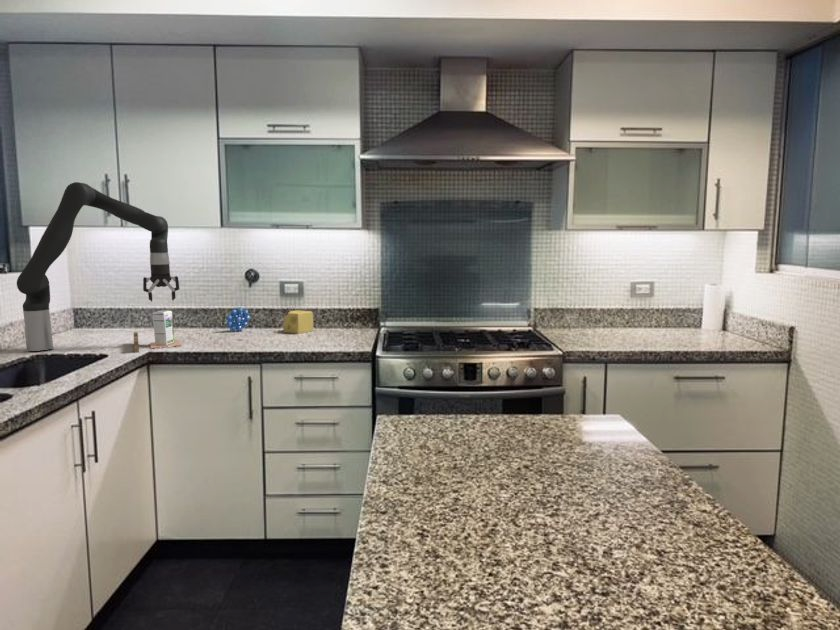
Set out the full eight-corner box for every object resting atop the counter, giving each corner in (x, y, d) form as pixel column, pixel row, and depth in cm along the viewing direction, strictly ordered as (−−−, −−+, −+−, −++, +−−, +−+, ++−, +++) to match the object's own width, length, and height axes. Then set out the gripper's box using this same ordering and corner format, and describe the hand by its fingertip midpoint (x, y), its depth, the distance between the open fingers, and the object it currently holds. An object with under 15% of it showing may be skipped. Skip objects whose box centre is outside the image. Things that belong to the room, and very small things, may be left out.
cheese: (283, 332, 286) (282, 312, 285) (299, 329, 295) (298, 309, 294) (298, 334, 281) (297, 313, 279) (314, 331, 289) (313, 311, 288)
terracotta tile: (150, 349, 248) (150, 347, 248) (150, 344, 259) (149, 342, 259) (181, 346, 254) (181, 345, 254) (179, 341, 264) (179, 340, 264)
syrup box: (166, 345, 253) (164, 312, 251) (154, 345, 254) (152, 311, 252) (174, 342, 258) (172, 310, 256) (162, 342, 259) (160, 310, 257)
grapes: (249, 329, 295) (248, 305, 293) (251, 331, 289) (250, 307, 287) (225, 331, 291) (224, 307, 289) (227, 333, 284) (225, 308, 283)
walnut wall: (139, 352, 242) (138, 340, 241) (134, 352, 241) (133, 340, 241) (138, 343, 262) (137, 332, 261) (134, 343, 261) (133, 332, 260)
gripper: (177, 262, 257) (179, 298, 260) (141, 263, 251) (143, 300, 254) (178, 263, 251) (180, 300, 253) (141, 264, 245) (144, 302, 247)
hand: (162, 300), depth 253 cm, fingers open, 8 cm apart
